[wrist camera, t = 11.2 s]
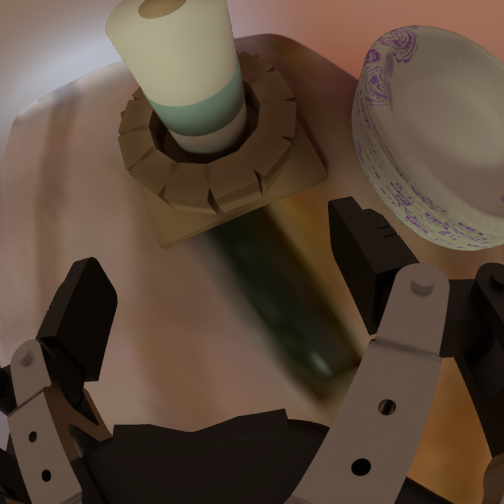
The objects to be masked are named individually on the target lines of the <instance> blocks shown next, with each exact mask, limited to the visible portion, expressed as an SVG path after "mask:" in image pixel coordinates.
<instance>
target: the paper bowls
mask: <svg viewBox="0 0 504 504" xmlns="http://www.w3.org/2000/svg"><path fill="white" fill-rule="evenodd" d="M351 113H352V116H351V130H352V137H353V143H354V145H355V151H356V153H357V156H358V159H359V162H360V164H361V166H362V169H363V171H364V173H365V175H366V177H367V178H368V180H369V182H370V184H371V185H372V186H373V188H374V189H375V191H376V192H377V193H378V195H379V196H380V198H381V199H382V200H383V202H384V203H385V204H386V205H387V206H388V207H389V208H390V209H391V210H392V211H393V213H394V214H395V215H396V216H397V217H398V218H399V219H400V220H401V221H403V222H404V224H405V225H407V226H408V227H409V228H411V229H412V230H413V231H415V232H416V233H417V234H419V235H420V236H421V237H423V238H425V239H427V240H429V241H431V242H433V243H435V244H438V245H441V246H444V247H447V248H451V249H455V250H481V249H486V248H491V247H495V246H500V245H503V244H504V63H503V62H501V60H499V59H498V58H497V57H496V56H494V55H493V54H492V53H490V52H489V51H488V50H486V49H485V48H483V47H482V46H480V45H479V44H477V43H475V42H473V41H471V40H470V39H468V38H466V37H464V36H462V35H459V34H457V33H454V32H451V31H448V30H445V29H441V28H436V27H431V26H416V25H414V26H406V27H401V28H398V29H395V30H392V31H390V32H388V33H386V34H385V35H383V36H382V37H381V38H379V39H378V40H377V41H376V42H375V43H373V45H372V46H371V48H370V49H369V51H368V53H367V55H366V58H365V62H364V65H363V69H362V72H361V75H360V78H359V82H358V85H357V88H356V91H355V95H354V101H353V105H352V110H351Z"/></svg>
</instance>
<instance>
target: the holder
mask: <svg viewBox="0 0 504 504" xmlns="http://www.w3.org/2000/svg"><path fill="white" fill-rule="evenodd" d="M236 53H237V51H236ZM237 55H238V54H237ZM238 59H239V65H240V70H241V76H242V82H243V87H244V95H245V97H244V98H245V104H246V110H247V115H248V121H249V127H250V137H249V138H248V139H247V141H246V142H245V143H244V144H243V145H242V146H241V148H240V149H239V150H238V151H237V152H234V153H232V154H229V155H227V156H225V157H222V158H220V159H218V160H215V161H213V162H211V163H208V164H196V163H193V162H192V161H190V160H189V159H188V158H187V157H186V156H185V154H184V153H183V151H182V150H181V148H180V147H179V145H178V144H177V142H176V141H175V139H174V137H173V136H172V134H171V133H170V131H169V130H168V128H167V127H166V126H165V125H164V124H163V122H162V121H161V119H160V118H159V116H158V115H157V113H156V111H155V110H154V108H153V107H152V105H151V104H150V102H149V101H148V99H147V98H146V96H145V95H144V93H143V91H142V88H141V87H139V88H138V89H137V90H136V92H135V93H134V94H133V95H132V96H133V98H134V99H135V100H129V101H128V104H127V107H126V110H125V111H123V112H121V117H122V121H121V124H120V128H119V131H118V132H119V133H120V134H121V136H119V137H118V140H119V144H120V148H121V152H122V156H123V160H124V164H125V167H126V169H127V170H128V171H129V172H130V173H129V174H130V175H131V176H133V177H134V178H135V179H136V180H137V181H139V183H140V186H141V190H142V193H143V196H144V199H145V202H146V206H147V209H148V212H149V215H150V218H151V221H152V224H153V227H154V230H155V233H156V236H157V239H158V242H159V245H160V247H162V248H164V249H166V248H169V247H171V246H173V245H175V244H177V243H180V242H182V241H184V240H186V239H188V238H191V237H193V236H195V235H197V234H200V233H202V232H204V231H206V230H209V229H211V228H213V227H215V226H218V225H220V224H222V223H225V222H227V221H229V220H231V219H234V218H236V217H238V216H241V215H243V214H245V213H248V212H250V211H252V210H255V209H257V208H260V207H262V206H264V205H267V204H269V203H271V202H274V201H276V200H279V199H281V198H283V197H286V196H288V195H291V194H293V193H296V192H298V191H300V190H303V189H305V188H308V187H310V186H313V185H315V184H318V183H320V182H323V181H325V180H327V177H328V173H327V171H326V169H325V167H324V165H323V164H322V162H321V160H320V158H319V156H318V154H317V152H316V151H315V149H314V147H313V145H312V143H311V142H310V140H309V138H308V136H307V135H306V133H305V131H304V129H303V128H302V126H301V124H300V123H299V121H298V119H297V117H296V109H297V102H295V98H296V96H295V95H294V93H293V92H292V90H291V88H290V87H289V85H288V84H287V82H286V81H285V79H284V78H283V76H282V75H281V73H280V72H279V70H278V69H277V70H274V66H273V65H271V64H269V63H267V62H265V61H262V60H260V59H259V57H258V56H257V55H254V56H251V55H249V54H247V53H245V52H242V53H241V54H240V55H239V56H238Z"/></svg>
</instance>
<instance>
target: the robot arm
mask: <svg viewBox="0 0 504 504" xmlns="http://www.w3.org/2000/svg"><path fill="white" fill-rule="evenodd" d="M328 213H329V226H330V240H331V247H332V252H333V255H334V258H335V261H336V263H337V265H338V267H339V269H340V271H341V273H342V275H343V277H344V280H345V282H346V284H347V286H348V288H349V290H350V293H351V295H352V297H353V299H354V301H355V304H356V306H357V308H358V310H359V312H360V315H361V317H362V319H363V322H364V324H365V326H366V328H367V331H368V333H369V335H373V334H376V333H377V334H376V336H375V338H374V339H371V341H370V343H369V345H368V347H367V349H366V351H365V354H364V356H363V359H362V361H361V364H360V366H359V368H358V371H357V373H356V375H355V377H354V380H353V382H352V384H351V386H350V389H349V391H348V393H347V395H346V397H345V399H344V401H343V404H342V406H341V408H340V410H339V412H338V414H337V416H336V418H335V420H334V422H333V424H332V426H331V428H330V427H327V426H325V425H322V424H318V423H314V422H311V421H304V420H293V419H288V417H287V414H286V411H285V409H279V410H274V411H269V412H263V413H257V414H251V415H244V416H238V417H235V418H232V419H230V420H227V421H224V422H222V423H219V424H216V425H213V426H210V427H208V428H205V429H202V430H199V431H195V432H184V431H179V430H174V429H169V428H164V427H160V426H155V425H151V424H141V425H114V429H113V436H112V434H111V433H110V432H109V430H108V429H107V427H106V425H105V424H104V422H103V420H102V418H101V416H100V414H99V412H98V410H97V408H96V406H95V404H94V402H93V400H92V398H91V396H90V394H89V392H88V391H87V390H86V389H85V388H84V382H89V381H98V380H99V375H100V371H101V366H102V362H103V358H104V354H105V349H106V345H107V341H108V338H109V334H110V330H111V326H112V323H113V319H114V315H115V312H116V308H117V304H118V300H117V294H116V291H115V289H114V287H113V285H112V284H111V282H110V280H109V279H108V277H107V275H106V274H105V272H104V270H103V269H102V267H101V265H100V264H99V262H98V260H97V259H96V258H94V257H90V258H86V259H83V260H79V261H76V262H74V263H73V265H72V267H71V269H70V271H69V273H68V275H67V276H66V278H65V281H64V282H63V283H62V284H61V285H60V287H59V288H58V290H57V292H56V294H55V296H54V298H53V301H52V302H51V304H50V306H49V310H48V311H47V313H46V315H45V318H44V320H43V322H42V324H41V327H40V329H39V332H38V334H37V336H36V339H35V340H33V339H32V340H28V341H26V342H24V343H23V344H22V345H20V346H19V348H18V349H17V350H16V351H15V353H14V355H13V357H12V359H11V364H10V365H8V366H5V367H3V368H1V367H0V411H1V412H3V413H4V414H5V415H7V416H8V418H7V419H8V424H9V429H10V433H9V438H8V444H7V449H6V451H4V450H3V449H1V448H0V504H453V503H452V502H450V501H448V500H446V499H444V498H443V497H441V496H439V495H437V494H435V493H434V492H432V491H430V490H429V489H427V488H425V487H423V486H422V485H420V484H418V483H417V482H415V481H413V480H412V479H410V478H408V477H407V473H408V471H409V468H410V466H411V463H412V461H413V458H414V456H415V453H416V450H417V447H418V445H419V442H420V439H421V436H422V433H423V430H424V427H425V424H426V421H427V417H428V414H429V411H430V407H431V404H432V400H433V396H434V393H435V389H436V385H437V381H438V376H439V372H440V367H441V361H442V358H446V357H454V359H455V361H456V363H457V365H458V368H459V370H460V372H461V374H462V377H463V379H464V381H465V384H466V386H467V389H468V391H469V393H470V396H471V398H472V401H473V404H474V406H475V409H476V411H477V414H478V417H479V419H480V422H481V425H482V428H483V431H484V434H485V437H486V440H487V443H488V446H489V449H490V452H491V456H492V460H491V461H490V463H489V464H488V466H487V468H486V471H485V474H484V478H483V488H484V497H483V501H482V503H481V504H504V265H502V264H499V263H486V264H484V265H482V266H481V267H480V268H479V269H478V271H477V274H476V277H475V279H462V280H449V279H447V277H446V276H445V274H444V273H443V272H442V271H440V270H439V269H437V268H436V267H433V266H431V265H427V264H420V262H419V261H418V260H417V258H416V257H415V256H414V254H413V253H412V252H411V250H410V249H409V248H408V246H407V245H406V244H405V243H404V241H403V240H402V239H401V237H400V236H399V235H397V232H396V231H395V230H394V229H393V227H391V225H390V224H389V222H388V221H387V220H386V219H385V218H384V216H383V215H381V214H379V213H377V212H376V211H374V210H372V209H365V210H362V209H361V207H360V206H359V205H358V203H357V202H356V201H355V200H354V198H353V197H346V198H341V199H336V200H331V201H329V202H328Z"/></svg>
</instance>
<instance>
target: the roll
mask: <svg viewBox="0 0 504 504" xmlns="http://www.w3.org/2000/svg"><path fill="white" fill-rule="evenodd" d="M105 30H106V34H107V36H108V37H109V39H110V40H111V42H112V43H113V45H114V47H115V48H116V50H117V51H118V53H119V54H120V56H121V57H122V59H123V61H124V62H125V64H126V65H127V67H128V68H129V70H130V71H131V73H132V74H133V76H134V78H135V79H136V81H137V82H138V84H139V85H140V87H141V88H142V91H143V93H144V95H145V96H146V98H147V99H148V101H149V102H150V104H151V105H152V107H153V108H154V110H155V111H156V113H157V115H158V116H159V118H160V119H161V121H162V122H163V124H164V125H165V126H166V127H167V128H168V130H169V131H170V133H171V134H172V136H173V137H174V139H175V141H176V142H177V144H178V145H179V147H180V148H181V150H182V151H183V153H184V154H185V156H186V157H187V158H188V159H189V160H190V161H192V162H193V163H196V164H208V163H211V162H213V161H215V160H218V159H220V158H222V157H225V156H227V155H229V154H232V153H234V152H237V151H238V150H239V149H240V148H241V146H242V145H243V144H244V143H245V142H246V141H247V139H248V138H249V137H250V127H249V121H248V115H247V110H246V104H245V98H244V97H245V95H244V87H243V82H242V76H241V70H240V65H239V59H238V55H237V53H236V48H235V43H234V38H233V32H232V27H231V23H230V17H229V11H228V7H227V1H226V0H123V1H122V2H121V3H119V5H117V6H116V8H115V9H114V10H113V12H112V13H111V14H110V16H109V18H108V20H107V22H106V27H105Z"/></svg>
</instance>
